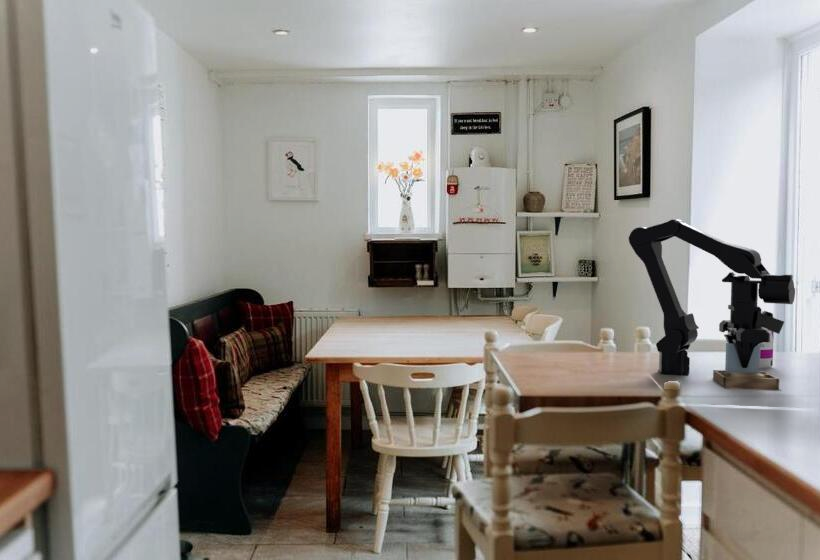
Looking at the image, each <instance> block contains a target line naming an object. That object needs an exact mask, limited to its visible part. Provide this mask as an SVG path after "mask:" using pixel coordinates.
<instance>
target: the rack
mask: <svg viewBox="0 0 820 560" xmlns="http://www.w3.org/2000/svg"><path fill="white" fill-rule="evenodd" d="M712 372H713V373H712V378H711V379H712V380H713V381H715V382H716V383H717V384H718V385H720V386H721V387H722V388H724V389H730V390H731V389H732V390H733V389H736V390H763V391H765V390H766V391H782V389H780V378H778V377H776V376H775V375H773V374H772V373H770V372H768V371H763V370H761V371H760V370H759V373H760V374H762V375H764V376H765V378H747V377H730V376H731V373H725V369H724V370H722V369H721V370H719V369H713V371H712Z"/></svg>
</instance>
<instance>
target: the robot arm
mask: <svg viewBox="0 0 820 560" xmlns="http://www.w3.org/2000/svg"><path fill="white" fill-rule="evenodd" d="M674 237H676V238H678V239H680V240H682V241H683V242H685V243H688V244H690V245H692V246H693V247H696V248H698V249H700V250H702V251H705V252H706V253H708V254H710V255H712V256H714V257H715V258H716V259H718V260H719V261H720V262H721V263H722V264H723V265H725V266H726V267H727V268H728V269H730V270H731V271H732V272H731V271H730V272H728V274H726V276H725V277H723V278H722V279H721V282H722V283H730V284H731V285H730V286H731V287H730V304H728V305H727V309H728V310H730V318H729V320H728V319H724V320H722V321H720V323H719V324H718V326H719V328H718V329H719V331H718V332H721V333H726V332H727V333H726V334H723V336H724V338H725V340H726V343H734V346H735V349H736V352H737V355H738V358H739V361H740V364H741V366H742V368H747V367H748V364H749V361H750V358H751V355H752V353H753V350H754V348H755V347H756V346H757V345H759V344H760V343H762V342H770V334H769V333H768V332H767V331H766V330H765V329H762V327H764V328H767V329H768V330H770V331H773V332H774V333H775V334H778V335H780V333H781V330H782V329H783V327H784V324H785V321H783V320H781V319H779V318H775V317H774V315H773V313H772V312H771V313H770V311H767V310H763V311H764V312H762V313H761V311H762V308H761V307H760V306H758V299H760V300H762V301H763V303H764V304H778V305H779V304H780V305H782V304H783V305H793V303H794V302H795V297H796V287H795V282H794V280H793V277H794V276H793V274H787V273H786V274H770V272H769V271H768V270H767V268H766V267H765V266H764V264H763V263H762V258H761V254H760V252H758V251H756V250H755V249H752V248H748V247H745V246H742V245H737V244H733V243H729V242H725V241H724V240H721V239H719V238H717V237H716V236H713V235H711V234H708V233H707V232H705V231H702V230H701V229H698V228H697V227H694V226H692V225H690V224H688V223H686V222H684V221H683V220H682V219H670V220H668V221H665V222H663V223H660V224H656V225H651V226H649V227H641V226H640V227H635V228H634V229H632V231H630V233H629V236H628V243H629V245H630V247H631V248H632V250H633V251H634V253H635V255H636V256H637V257H638V258H639V259H640V261H642V262H643V264H644V266H645V269H646V272H647V274H648V276H649V280H650V282H651V285H652V288H653V289H654V293H655V295H656V298H657V300H658V304H659V305H660V309H661V311H662V314H663V330H664V331H663V332H664V336H663V337H662V338H661V339H660V340H658V341H657V342H656V343H655V346H656V349H657V352H658V354H659V356H658V357H659V358H658V364H659V365H658V369H657V371H658V372H659V373H660V375H661V376H662V375H663V376H685V377H686V376H689V374H690V364H691V363H690V362H691V361H690V357H689V356H688V351H687V350H689V349H690V346H691V344H693V343H694V342H695V341H696V340H697V338H698V334H699V333H698V329H700V328H699V326H698V325H697V323H696V321H695V317H694V313H692V312H691V313H686V312H685V311H684V310H683V308H682V306H681V303H680V301H679V298H678V296H677V294H676V291H675V288H674V286H673V283H672V280H671V278H670V276H669V273H668V270H667V268H666V265H665V262H664V260H663V258H662V256H663V255H662V253H663V245H662V242H664V241H668V240H669V239H671V238H674ZM735 273H736V274H740V275H736V274H735ZM741 274H742V275H741ZM744 274H745V275H744ZM754 279H755V280H754ZM756 279H758V280H756ZM759 279H760V280H759ZM758 297H759V298H758ZM773 317H774V318H773Z"/></svg>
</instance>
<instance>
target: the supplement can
mask: <svg viewBox="0 0 820 560" xmlns="http://www.w3.org/2000/svg"><path fill="white" fill-rule="evenodd" d="M764 311H765V310H761V313H762V312H764ZM769 312H770V311H769ZM770 313H772V312H770ZM773 318H775V317H774V316H773ZM762 329H765V330H766V331H767V332H768V333H769V334H770V342H762V343H760V344H759V345H760V360H759V369H769V368H772V367H773V366H774V364H773V363H774V335H775V334H774V333H775V332H773V331H770V330H768V329H767V328H764V327H762Z"/></svg>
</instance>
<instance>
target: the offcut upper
mask: <svg viewBox="0 0 820 560" xmlns="http://www.w3.org/2000/svg"><path fill="white" fill-rule="evenodd" d="M730 377H747V378H765V376H764V375H762V374H760V373H742V372H731V376H730Z"/></svg>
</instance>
